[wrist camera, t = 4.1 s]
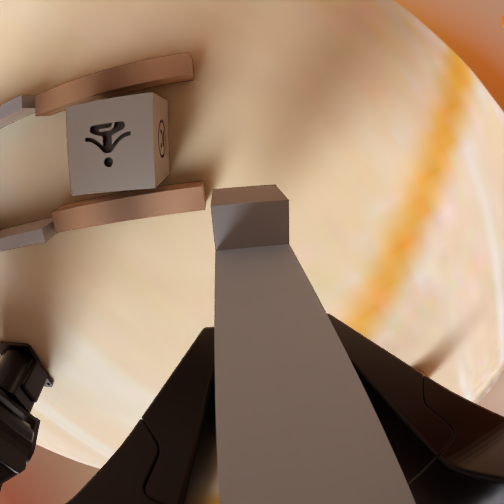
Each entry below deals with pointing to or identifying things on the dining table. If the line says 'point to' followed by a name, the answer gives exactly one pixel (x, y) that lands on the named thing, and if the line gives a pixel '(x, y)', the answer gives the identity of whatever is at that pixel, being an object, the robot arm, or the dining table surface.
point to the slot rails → (131, 202)
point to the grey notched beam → (286, 374)
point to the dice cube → (118, 144)
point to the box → (33, 230)
